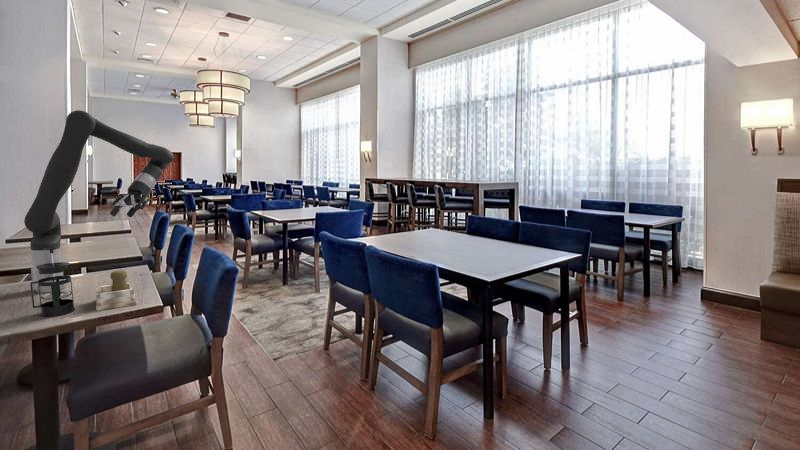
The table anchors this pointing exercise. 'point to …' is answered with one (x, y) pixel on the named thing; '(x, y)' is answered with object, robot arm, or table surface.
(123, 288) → the cork
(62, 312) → the french press
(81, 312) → the table surface
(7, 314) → the table surface
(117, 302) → the cruet holder
